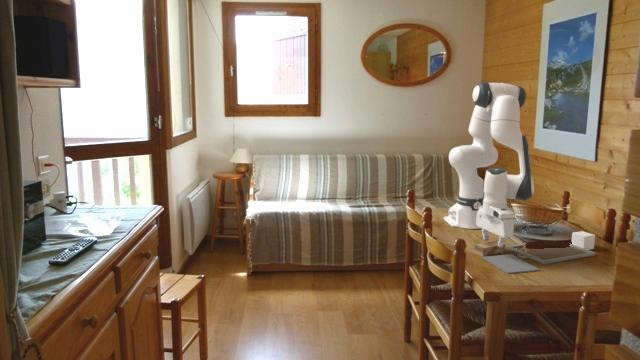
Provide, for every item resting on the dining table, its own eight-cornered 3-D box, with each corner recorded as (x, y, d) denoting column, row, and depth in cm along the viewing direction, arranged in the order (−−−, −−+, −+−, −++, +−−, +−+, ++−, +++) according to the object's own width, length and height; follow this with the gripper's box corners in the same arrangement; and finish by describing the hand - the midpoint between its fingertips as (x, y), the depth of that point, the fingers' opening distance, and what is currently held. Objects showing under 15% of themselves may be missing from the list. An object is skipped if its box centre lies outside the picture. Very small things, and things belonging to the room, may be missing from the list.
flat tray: (596, 252, 191) (537, 262, 180) (596, 256, 191) (537, 266, 181) (557, 239, 209) (501, 247, 198) (556, 242, 209) (501, 250, 198)
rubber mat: (481, 257, 188) (481, 256, 188) (511, 255, 191) (511, 254, 191) (507, 273, 172) (507, 272, 172) (539, 270, 175) (539, 269, 175)
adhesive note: (581, 244, 204) (582, 231, 203) (593, 249, 199) (595, 234, 198) (570, 246, 202) (572, 232, 201) (583, 250, 197) (584, 236, 196)
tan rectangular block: (482, 257, 190) (483, 247, 189) (474, 253, 195) (474, 244, 194) (504, 253, 194) (505, 244, 194) (495, 249, 199) (496, 240, 198)
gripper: (472, 204, 200) (471, 236, 202) (503, 215, 180) (501, 251, 183) (486, 203, 201) (484, 235, 204) (517, 214, 182) (515, 249, 184)
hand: (492, 243), depth 193 cm, fingers open, 8 cm apart
